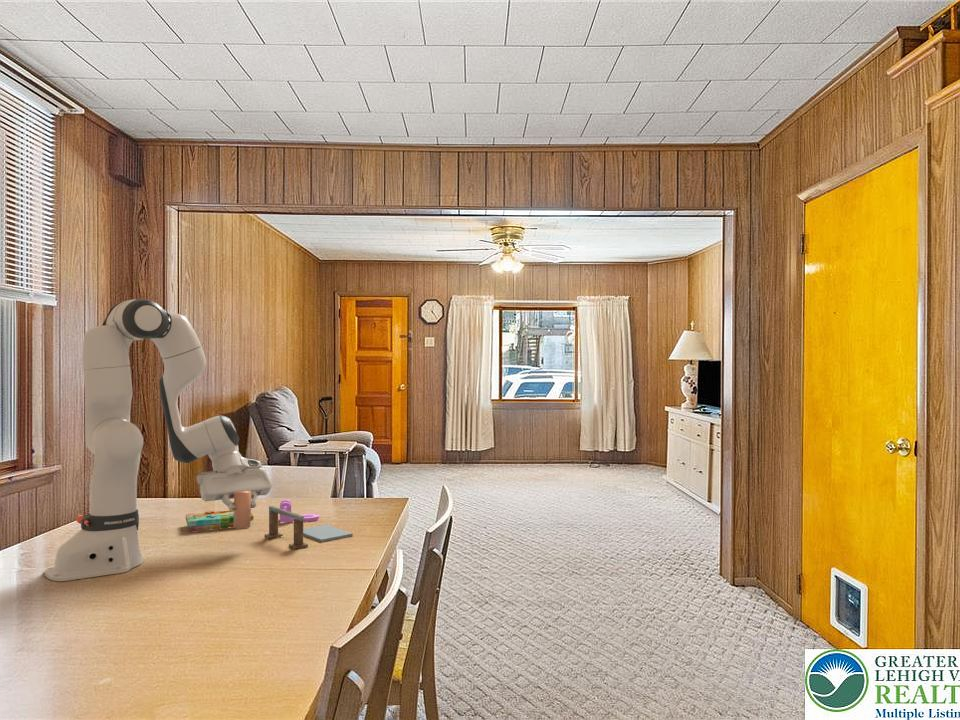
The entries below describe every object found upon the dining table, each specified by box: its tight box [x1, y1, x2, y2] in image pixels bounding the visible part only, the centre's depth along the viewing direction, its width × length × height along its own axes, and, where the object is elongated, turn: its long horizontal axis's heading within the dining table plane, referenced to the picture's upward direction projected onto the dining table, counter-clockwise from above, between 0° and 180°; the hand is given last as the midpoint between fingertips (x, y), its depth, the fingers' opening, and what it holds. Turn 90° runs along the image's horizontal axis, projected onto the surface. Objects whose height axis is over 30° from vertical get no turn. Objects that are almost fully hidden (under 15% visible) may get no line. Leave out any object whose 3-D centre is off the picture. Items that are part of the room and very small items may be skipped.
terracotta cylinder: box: [233, 491, 252, 529], centre depth 197 cm, size 5×5×10 cm
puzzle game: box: [185, 510, 254, 533], centre depth 226 cm, size 12×5×20 cm
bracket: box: [279, 499, 320, 523], centre depth 234 cm, size 13×6×7 cm, turn 106°
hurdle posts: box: [264, 510, 309, 550], centre depth 206 cm, size 4×20×8 cm, turn 43°
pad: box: [303, 524, 354, 543], centre depth 215 cm, size 11×16×1 cm
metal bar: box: [268, 505, 304, 521], centre depth 206 cm, size 1×20×1 cm, turn 43°
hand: (243, 508), depth 196 cm, fingers closed on terracotta cylinder, 5 cm apart
